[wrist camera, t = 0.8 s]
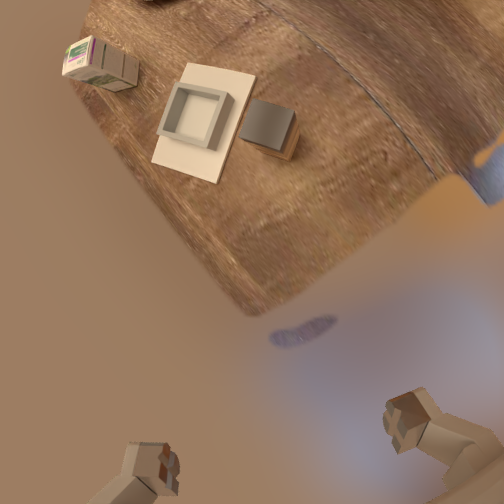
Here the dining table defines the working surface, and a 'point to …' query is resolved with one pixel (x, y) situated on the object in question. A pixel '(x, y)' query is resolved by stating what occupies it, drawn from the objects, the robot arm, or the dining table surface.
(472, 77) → the dining table surface
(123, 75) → the syrup box
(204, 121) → the caddy
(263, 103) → the tool handle
